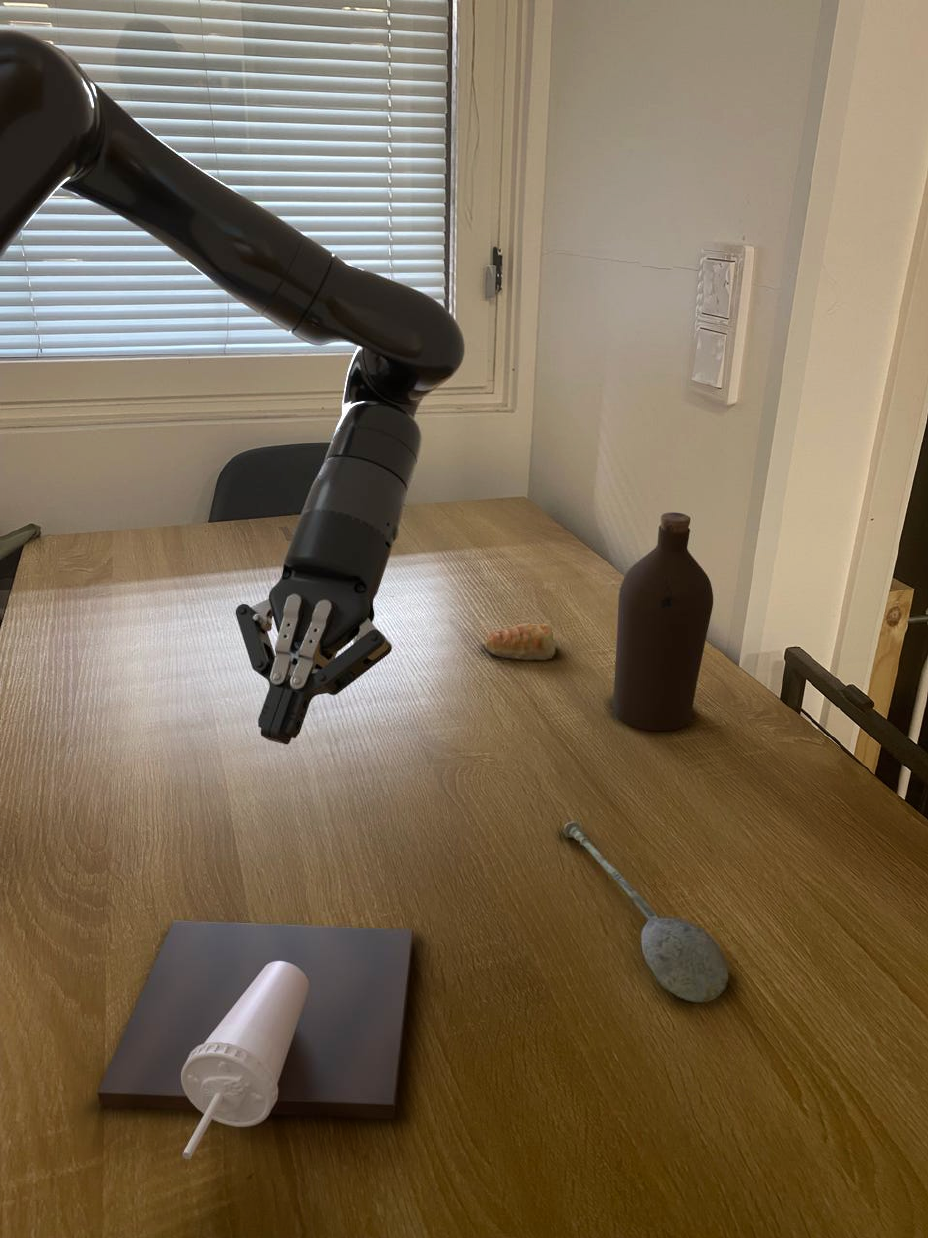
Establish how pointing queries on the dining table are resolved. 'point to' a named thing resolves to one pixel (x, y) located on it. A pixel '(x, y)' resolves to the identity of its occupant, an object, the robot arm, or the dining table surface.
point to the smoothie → (246, 1052)
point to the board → (325, 1033)
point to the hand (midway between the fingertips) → (274, 740)
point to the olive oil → (661, 632)
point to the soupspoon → (671, 943)
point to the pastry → (523, 642)
